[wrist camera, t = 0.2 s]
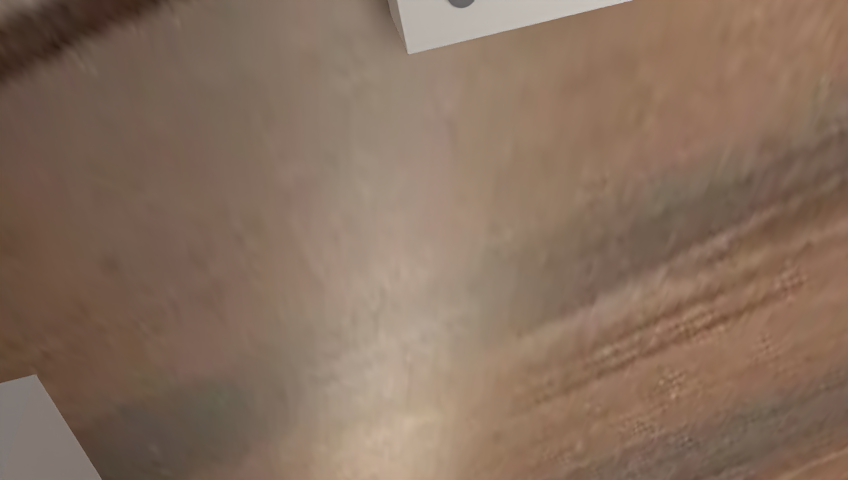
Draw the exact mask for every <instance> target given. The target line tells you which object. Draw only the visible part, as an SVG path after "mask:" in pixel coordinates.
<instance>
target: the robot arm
mask: <svg viewBox="0 0 848 480" xmlns="http://www.w3.org/2000/svg"><path fill="white" fill-rule="evenodd" d="M0 480H102V479H101V478H100V476H99V474H98V473H97V471H96V470H95V468H94V466H93V465H92V463H91V462H90V460H89V458H88V457H87V455H86V454H85V452H84V451H83V449H82V447H81V446H80V444H79V443H78V441H77V439H76V438H75V436H74V435H73V433H72V431H71V430H70V428H69V427H68V425H67V424H66V422H65V420H64V419H63V417H62V416H61V414H60V412H59V411H58V409H57V408H56V406H55V404H54V403H53V401H52V400H51V398H50V396H49V395H48V393H47V392H46V390H45V389H44V387H43V385H42V384H41V382H40V381H39V379H38V377H37V376H36V375H32V376H28V377H24V378H20V379H16V380H12V381H8V382H4V383H0Z"/></svg>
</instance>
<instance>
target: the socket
mask: <svg viewBox="0 0 848 480" xmlns="http://www.w3.org/2000/svg"><path fill="white" fill-rule="evenodd" d="M627 1H631V0H388V4H389V9H390V13H391V17H392V19H393V21H394V24H395V26H396V28H397V30H398V33H399V35H400V37H401V39H402V42H403V44H404V46H405V49H406V51H407V53H408V55H409V54H413V53H417V52H421V51H425V50H429V49H434V48H438V47H442V46H446V45H450V44H454V43H458V42H462V41H466V40H471V39H475V38H479V37H483V36H487V35H491V34H495V33H499V32H504V31H508V30H512V29H516V28H520V27H524V26H528V25H532V24H536V23H541V22H545V21H549V20H553V19H557V18H561V17H565V16H569V15H573V14H578V13H582V12H586V11H590V10H594V9H598V8H602V7H606V6H611V5H615V4H619V3H623V2H627Z"/></svg>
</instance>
